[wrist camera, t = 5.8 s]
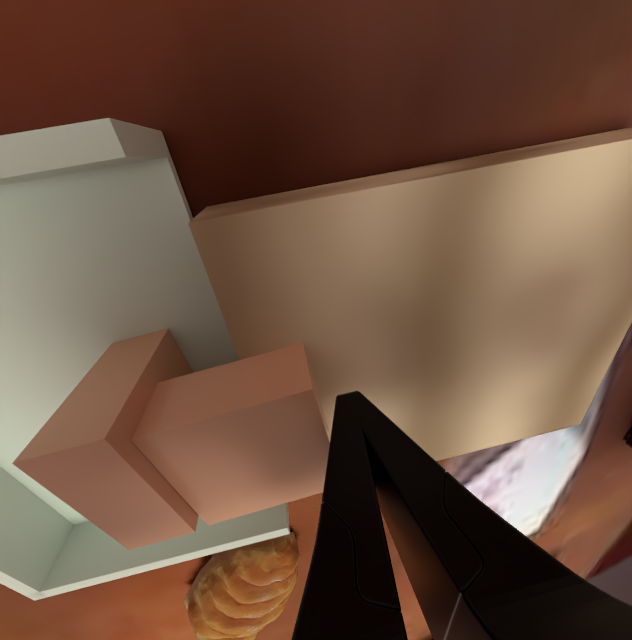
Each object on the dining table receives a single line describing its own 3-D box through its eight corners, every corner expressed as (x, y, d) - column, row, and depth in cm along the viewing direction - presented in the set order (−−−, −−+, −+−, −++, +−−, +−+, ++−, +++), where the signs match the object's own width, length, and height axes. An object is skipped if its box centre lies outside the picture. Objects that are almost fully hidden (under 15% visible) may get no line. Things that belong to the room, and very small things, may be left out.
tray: (161, 131, 8) (109, 117, 5) (285, 472, 16) (289, 533, 13) (-320, 212, 7) (-673, 246, 4) (73, 525, 15) (34, 600, 12)
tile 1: (303, 342, 9) (312, 389, 7) (330, 434, 11) (343, 486, 9) (157, 382, 8) (130, 440, 7) (216, 467, 11) (208, 525, 9)
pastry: (225, 515, 17) (217, 598, 14) (321, 522, 20) (333, 594, 17) (184, 583, 21) (171, 662, 18) (270, 582, 23) (271, 651, 20)
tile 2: (104, 439, 6) (11, 463, 6) (195, 531, 8) (129, 549, 8) (167, 328, 10) (112, 343, 10) (218, 413, 12) (173, 425, 12)
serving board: (627, 128, 9) (733, 119, 7) (536, 387, 16) (579, 424, 13) (207, 206, 9) (187, 223, 6) (287, 448, 15) (291, 497, 13)
